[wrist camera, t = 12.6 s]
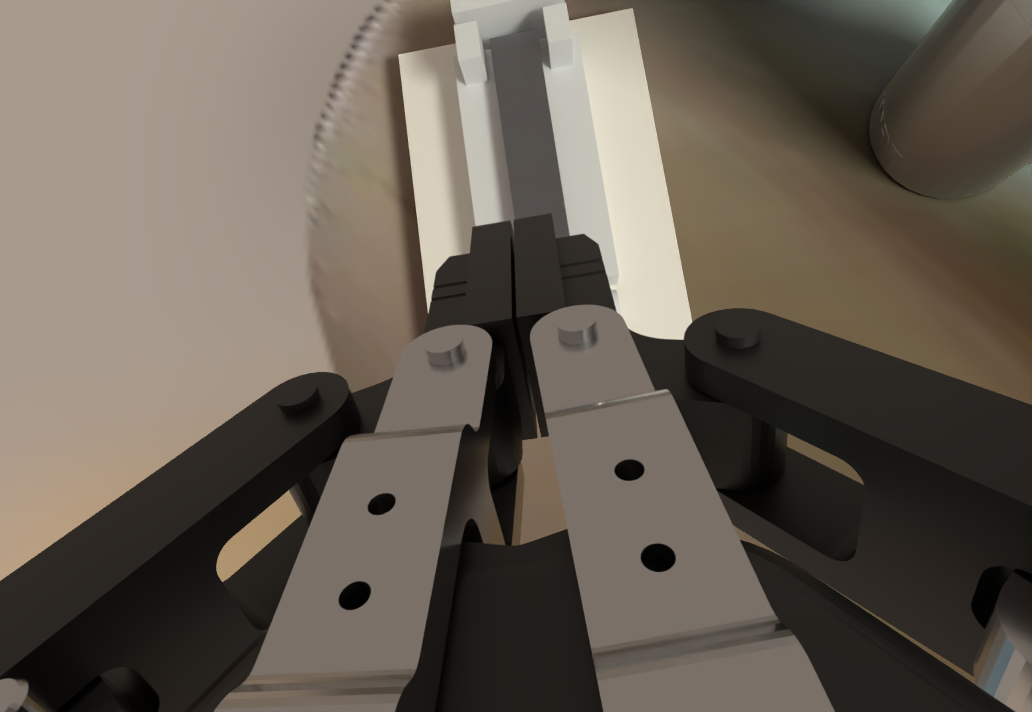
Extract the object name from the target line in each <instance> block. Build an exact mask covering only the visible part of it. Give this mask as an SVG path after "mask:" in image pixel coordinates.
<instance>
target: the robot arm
mask: <svg viewBox="0 0 1032 712" xmlns="http://www.w3.org/2000/svg"><path fill="white" fill-rule="evenodd" d="M869 134H870V142H871V146H872V148H873V151H874V154H875V156H876V158H877V160H878V161H879V163H880V164H881V166H882V167H883V169H884V170H885V171H886V172H887V173H888V174H889V175H890V176H891V177H892V178H893V179H894V180H895V181H897V182H898V183H900V184H901V185H903V186H904V187H906V188H907V189H909V190H911V191H914V192H916V193H919V194H921V195H924V196H928V197H933V198H938V199H961V198H967V197H972V196H975V195H978V194H981V193H983V192H986V191H988V190H990V189H991V188H993V187H994V186H996V185H998V184H999V183H1001V182H1002V181H1004V180H1005V179H1006V178H1008V177H1009V176H1011V175H1012V174H1014V173H1015V172H1016V171H1018V170H1019V169H1021V168H1022V167H1024V166H1025V165H1026V164H1031V163H1032V0H953V1H952V2H951V3H950V4H949V6H948V7H947V8H946V10H945V11H944V12H943V14H942V15H941V16H940V17H939V19H938V20H937V21H936V23H935V24H934V25H933V26H932V28H931V29H930V30H929V32H928V33H927V34H926V36H925V37H924V38H923V39H922V41H921V42H920V43H919V45H918V46H917V47H916V49H915V50H914V51H913V52H912V54H911V55H910V56H909V58H908V59H907V60H906V61H905V63H904V64H903V65H902V67H901V68H900V69H899V71H898V72H897V73H896V74H895V76H894V77H893V78H892V80H891V81H890V82H889V84H888V85H887V86H886V87H885V89H884V90H883V92H882V93H881V95H880V96H879V98H878V99H877V101H876V102H875V105H874V107H873V110H872V113H871V116H870V124H869ZM433 287H434V289H433V291H432V296H431V301H432V302H430V307H429V313H428V318H427V324H426V330H425V334H423V335H421V336H419V337H417V338H416V339H415V340H413V341H412V342H411V343H410V344H409V345H408V346H407V347H406V348H405V349H404V351H403V352H402V354H401V357H400V360H399V363H398V365H397V368H396V371H395V374H394V377H393V378H391V379H389V380H386V381H384V382H381V383H379V384H376V385H374V386H371V387H368V388H365V389H362V390H360V391H357V392H354V393H351V390H350V388H349V385H348V383H347V381H346V380H345V379H344V378H343V377H341V376H340V375H338V374H334V373H329V372H317V373H309V374H305V375H301V376H298V377H295V378H292V379H290V380H288V381H286V382H284V383H282V384H280V385H278V386H277V387H275V388H273V389H272V390H271V391H269V392H268V393H266V394H265V395H264V396H262V397H261V398H259V399H258V400H256V401H255V402H253V403H252V404H251V405H249V406H248V407H246V408H245V409H244V410H242V411H241V412H239V413H238V414H236V415H235V416H234V417H232V418H231V419H229V420H228V421H227V422H225V423H224V424H222V425H221V426H219V427H218V428H217V429H215V430H214V431H213V432H211V433H210V434H208V435H207V436H206V437H204V438H202V439H201V440H200V441H198V442H197V443H195V444H194V445H193V446H191V447H190V448H188V449H187V450H186V451H184V452H183V453H182V454H180V455H178V456H177V457H176V458H174V459H173V460H171V461H170V462H168V463H167V464H166V465H165V466H163V467H162V468H160V469H159V470H157V471H156V472H154V473H153V474H152V475H150V476H149V477H147V478H146V479H145V480H143V481H141V482H140V483H139V484H137V485H136V486H135V487H133V488H132V489H130V490H129V491H127V492H126V493H125V494H123V495H122V496H120V497H119V498H117V499H116V500H115V501H113V502H112V503H110V504H109V505H107V506H106V507H105V508H103V509H102V510H101V511H99V512H98V513H96V514H95V515H93V516H92V517H91V518H89V519H88V520H86V521H85V522H83V523H82V524H81V525H79V526H78V527H76V528H75V529H73V530H72V531H71V532H69V533H68V534H66V535H65V536H64V537H62V538H61V539H59V540H58V541H57V542H55V543H54V544H52V545H51V546H49V547H48V548H47V549H45V550H44V551H42V552H41V553H39V554H38V555H37V556H35V557H34V558H32V559H31V560H29V561H28V562H27V563H25V564H24V565H22V566H21V567H20V568H18V569H17V570H15V571H14V572H13V573H11V574H10V575H8V576H7V577H5V578H4V579H3V580H1V581H0V712H1032V405H1030V404H1027V403H1024V402H1022V401H1019V400H1016V399H1013V398H1010V397H1007V396H1004V395H1002V394H999V393H996V392H993V391H990V390H987V389H984V388H982V387H979V386H976V385H973V384H970V383H967V382H964V381H962V380H959V379H956V378H953V377H950V376H947V375H944V374H942V373H939V372H936V371H933V370H930V369H927V368H924V367H922V366H919V365H916V364H913V363H910V362H907V361H904V360H902V359H899V358H896V357H893V356H890V355H887V354H884V353H882V352H879V351H876V350H873V349H870V348H867V347H864V346H862V345H859V344H856V343H853V342H850V341H847V340H844V339H842V338H839V337H836V336H833V335H830V334H827V333H824V332H822V331H819V330H816V329H813V328H810V327H807V326H804V325H802V324H799V323H796V322H793V321H790V320H787V319H784V318H782V317H779V316H776V315H773V314H770V313H767V312H763V311H759V310H754V309H744V308H734V309H724V310H719V311H715V312H711V313H708V314H706V315H703V316H701V317H699V318H698V319H696V320H695V321H693V322H692V323H691V324H690V325H689V326H688V328H687V329H686V331H685V333H684V340H677V339H660V338H653V337H648V336H644V335H641V334H638V333H636V332H633V331H632V330H630V329H628V327H627V325H626V323H625V320H624V319H623V317H622V316H621V315H620V314H619V313H617V311H616V307H615V303H614V299H613V296H612V292H611V288H610V285H609V281H608V277H607V274H606V270H605V266H604V263H603V260H602V255H601V251H600V248H599V244H598V243H596V242H595V241H594V240H592V239H591V238H589V237H588V236H586V235H585V234H579V235H573V236H567V237H561V238H556V237H555V230H554V224H553V218H552V213H548V214H542V215H537V216H531V217H525V218H519V219H514V230H513V226H512V222H511V220H509V221H503V222H497V223H491V224H485V225H480V226H474V227H472V235H471V245H470V253H468V254H462V255H456V256H450V257H448V259H447V260H446V261H445V262H444V263H443V264H442V265H441V266H440V268H439V269H438V270H437V271H436V274H435V280H434V285H433ZM536 414H537V418H538V423H539V428H540V433H541V437H547V436H549V438H550V443H551V448H552V453H553V458H554V463H555V468H556V473H557V478H558V483H559V488H560V493H561V499H562V504H563V509H564V514H565V519H566V524H567V529H566V530H563V531H560V532H557V533H555V534H552V535H549V536H546V537H543V538H540V539H537V540H535V541H532V542H529V543H526V544H522V545H520V535H521V520H522V505H523V490H524V472H523V468H522V464H521V459H522V440H527V439H534V438H537V424H536ZM788 433H789V434H791V435H793V436H795V437H797V438H799V439H801V440H803V441H805V442H807V443H809V444H811V445H814V446H816V447H818V448H820V449H822V450H824V451H826V452H828V453H830V454H832V455H834V456H836V457H838V458H840V459H842V460H844V461H845V462H846V463H848V464H849V465H850V466H851V467H852V468H853V469H854V470H855V471H856V472H857V473H858V474H859V476H860V477H861V479H862V481H863V483H864V485H863V484H861V483H859V482H857V481H855V480H853V479H851V478H849V477H847V476H845V475H843V474H841V473H839V472H837V471H835V470H833V469H831V468H829V467H827V466H825V465H823V464H821V463H819V462H817V461H815V460H813V459H811V458H809V457H807V456H805V455H803V454H801V453H799V452H797V451H795V450H793V449H791V448H789V447H787V434H788ZM288 490H289V491H290V493H291V495H292V497H293V499H294V501H295V502H296V504H297V506H298V508H299V510H300V512H301V514H302V515H301V516H300V517H299V518H297V519H296V520H295V521H294V522H293V523H292V524H291V525H289V526H288V527H287V528H286V529H285V530H284V531H282V532H281V533H280V534H279V535H278V536H277V537H276V538H274V539H273V540H272V541H271V542H270V543H269V544H268V545H266V546H265V547H264V548H263V549H262V550H261V551H260V552H259V553H257V554H256V555H255V556H254V557H253V558H252V559H250V560H249V561H248V562H247V563H246V564H245V565H244V566H243V567H241V568H240V569H239V570H238V571H237V572H235V573H234V574H233V575H232V576H231V577H230V578H228V579H227V580H225V581H224V582H222V581H221V580H220V578H219V577H218V575H217V571H216V563H217V558H218V555H219V553H220V551H221V550H222V548H223V546H224V545H225V544H226V543H227V541H228V540H229V539H231V538H232V537H233V536H234V535H235V534H236V533H238V532H239V531H240V530H241V529H242V528H244V527H245V526H246V525H247V524H248V523H250V522H251V521H252V520H253V519H254V518H256V517H257V516H258V515H259V514H260V513H262V512H263V511H264V510H265V509H266V508H268V507H269V506H270V505H271V504H272V503H274V502H275V501H276V500H277V499H279V498H280V497H281V496H282V495H283V494H284V493H286V492H287V491H288ZM733 525H734V526H736V527H737V528H739V529H740V530H742V531H744V532H745V533H747V534H748V535H750V536H751V537H753V538H755V539H756V540H758V541H759V542H761V543H763V544H764V545H766V546H767V547H769V548H770V549H772V550H774V551H775V552H777V553H778V554H780V555H782V556H783V557H785V558H786V559H785V558H783V557H781V556H779V555H777V554H775V553H773V552H772V551H769V550H767V549H764V548H762V547H759V546H757V545H754V544H752V543H749V542H745V541H742V540H739V537H738V535H737V533H736V531H735V529H734V527H733ZM787 559H788V560H787ZM789 560H790V561H789ZM808 572H809V573H808ZM811 574H812V575H811ZM814 576H815V577H814ZM816 577H817V578H818V579H817V578H816ZM819 579H820V580H821V581H820V580H819ZM822 581H823V582H824V583H823V582H822ZM825 583H826V584H828V585H829V586H831V587H832V588H834V589H836V590H837V591H839V592H840V593H842V594H843V595H845V596H847V597H848V598H850V599H851V600H853V601H855V602H856V603H858V604H859V605H861V606H863V607H864V608H866V609H867V610H869V611H870V612H872V613H874V614H875V615H877V616H878V617H880V618H882V619H883V620H885V621H886V622H888V623H889V624H891V625H893V626H894V627H896V628H897V629H899V630H901V631H902V632H904V633H905V634H907V635H909V636H910V637H912V638H913V639H915V640H916V641H918V642H920V643H921V644H923V645H924V646H926V647H928V648H929V649H931V650H932V651H934V652H936V653H937V654H939V655H940V656H942V657H943V658H945V659H947V660H948V661H950V662H951V663H953V664H955V665H956V666H958V667H959V668H961V669H962V670H964V671H966V672H967V673H969V674H970V675H972V676H974V677H975V681H976V685H975V684H974V683H972V682H971V681H969V680H968V679H966V678H965V677H963V676H962V675H960V674H959V673H957V672H956V671H954V670H953V669H951V668H950V667H948V666H947V665H945V664H944V663H942V662H941V661H939V660H938V659H936V658H935V657H933V656H932V655H930V654H929V653H927V652H926V651H924V650H923V649H921V648H920V647H919V646H917V645H916V644H914V643H913V642H911V641H910V640H908V639H907V638H905V637H904V636H902V635H901V634H899V633H898V632H896V631H895V630H893V629H892V628H890V627H889V626H887V625H886V624H884V623H883V622H881V621H880V620H878V619H877V618H875V617H874V616H872V615H871V614H869V613H868V612H866V611H865V610H863V609H862V608H860V607H859V606H857V605H856V604H854V603H853V602H851V601H850V600H849V599H847V598H846V597H844V596H843V595H841V594H840V593H838V592H837V591H835V590H834V589H832V588H831V587H829V586H828V585H826V584H825Z"/></svg>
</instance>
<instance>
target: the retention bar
mask: <svg viewBox="0 0 1032 712" xmlns="http://www.w3.org/2000/svg"><path fill="white" fill-rule="evenodd" d="M489 41H490V48H491V55H492V62H493V69H494V76H495V83H496V90H497V97H498V104H499V111H500V118H501V125H502V132H503V140H504V147H505V154H506V161H507V168H508V175H509V182H510V189H511V196H512V203H513V210H514V217H515V219H519V218H525V217H531V216H537V215H542V214H548V213H552V218H553V224H554V230H555V237H556V238H561V237H567V236H570V234H569V228H568V221H567V215H566V209H565V203H564V196H563V190H562V184H561V177H560V171H559V165H558V159H557V152H556V146H555V140H554V133H553V127H552V121H551V115H550V108H549V102H548V96H547V89H546V83H545V77H544V71H543V64H542V58H541V52H540V45H539V39H538V33H537V29H536V30H531V31H526V32H521V33H516V34H511V35H506V36H501V37H496V38H491V39H489Z"/></svg>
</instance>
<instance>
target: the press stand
mask: <svg viewBox="0 0 1032 712" xmlns="http://www.w3.org/2000/svg"><path fill="white" fill-rule="evenodd" d="M450 2H451V10H452V15H453V18H454V21H455V25H454V32H455V40H456V43H455V44H450V45H445V46H439V47H434V48H429V49H424V50H419V51H414V52H409V53H404V54H399V55H398V56H399V65H400V73H401V82H402V91H403V99H404V108H405V117H406V126H407V134H408V143H409V152H410V160H411V169H412V178H413V187H414V195H415V204H416V213H417V221H418V230H419V239H420V247H421V256H422V265H423V274H424V282H425V291H426V300H427V308H428V313H429V307H430V302H432V301H431V296H432V291H433V289H434V287H433V285H434V280H435V274H436V271H437V270H438V269H439V268H440V266H441V265H442V264H443V263H444V262H445V261H446V260H447V259H448V257H450V256H456V255H462V254H468V253H470V245H471V235H472V227H474V226H480V225H485V224H491V223H497V222H503V221H509V220H511V222H512V226H513V230H514V219H515V217H514V210H513V203H512V196H511V189H510V182H509V175H508V168H507V161H506V154H505V147H504V140H503V132H502V125H501V118H500V111H499V104H498V97H497V90H496V83H495V76H494V69H493V62H492V55H491V48H490V41H489V39H491V38H496V37H501V36H506V35H511V34H516V33H521V32H526V31H531V30H536V29H537V33H538V39H539V45H540V52H541V58H542V64H543V71H544V77H545V83H546V89H547V96H548V102H549V108H550V115H551V121H552V127H553V133H554V140H555V146H556V152H557V159H558V165H559V171H560V177H561V184H562V190H563V196H564V203H565V209H566V215H567V221H568V228H569V234H570V236H573V235H579V234H585V235H586V236H588V237H589V238H591V239H592V240H594V241H595V242H596V243H598V244H599V248H600V251H601V255H602V260H603V263H604V266H605V270H606V274H607V277H608V281H609V285H610V288H611V292H612V296H613V299H614V303H615V307H616V311H617V313H619V314H620V315H621V316H622V317H623V319H624V320H625V323H626V325H627V327H628V329H630V330H632V331H633V332H636V333H638V334H641V335H644V336H648V337H653V338H660V339H677V340H684V333H685V331H686V329H687V328H688V326H689V325H690V324H691V323H692V319H691V313H690V308H689V303H688V297H687V292H686V287H685V282H684V276H683V271H682V266H681V261H680V255H679V250H678V245H677V239H676V234H675V229H674V224H673V218H672V213H671V208H670V203H669V197H668V192H667V187H666V181H665V176H664V171H663V166H662V160H661V155H660V150H659V144H658V139H657V134H656V129H655V123H654V118H653V113H652V108H651V102H650V97H649V92H648V86H647V81H646V76H645V71H644V65H643V60H642V55H641V50H640V44H639V39H638V34H637V28H636V23H635V18H634V13H633V8H630V9H625V10H620V11H615V12H610V13H605V14H600V15H595V16H590V17H585V18H580V19H575V20H570V21H569V17H568V11H567V5H566V3H565V0H450Z"/></svg>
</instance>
